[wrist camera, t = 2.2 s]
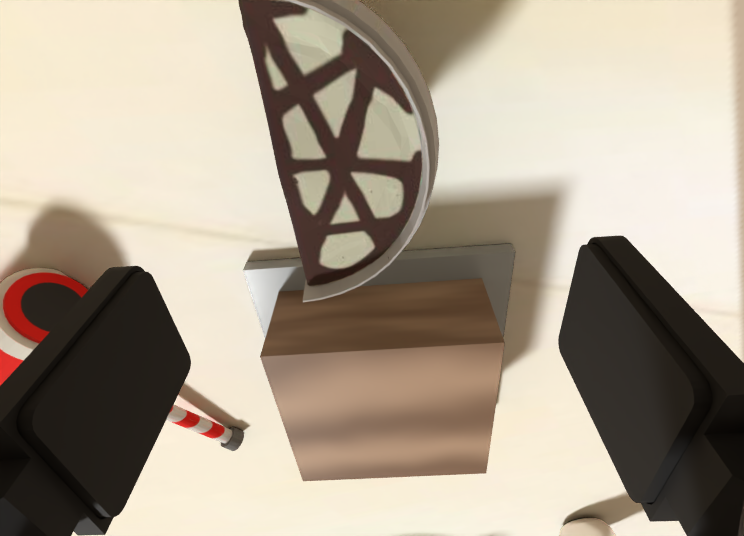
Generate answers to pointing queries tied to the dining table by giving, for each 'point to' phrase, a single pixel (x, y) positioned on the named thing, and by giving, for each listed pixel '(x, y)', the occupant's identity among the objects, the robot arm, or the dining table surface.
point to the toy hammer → (44, 311)
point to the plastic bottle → (586, 528)
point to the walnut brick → (386, 379)
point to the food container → (343, 134)
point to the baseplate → (396, 275)
